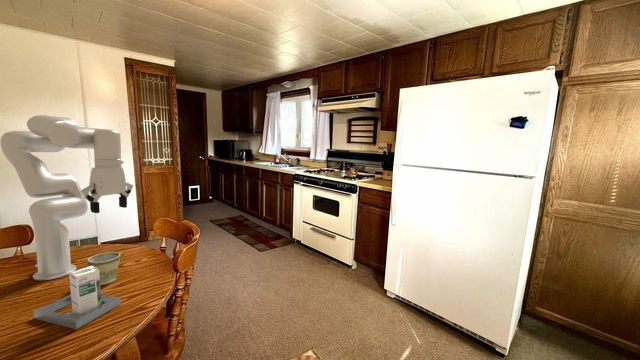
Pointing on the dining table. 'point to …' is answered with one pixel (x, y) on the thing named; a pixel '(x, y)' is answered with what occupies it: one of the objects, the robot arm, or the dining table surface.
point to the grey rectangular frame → (71, 318)
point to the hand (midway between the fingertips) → (109, 209)
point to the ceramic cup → (106, 265)
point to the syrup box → (85, 290)
